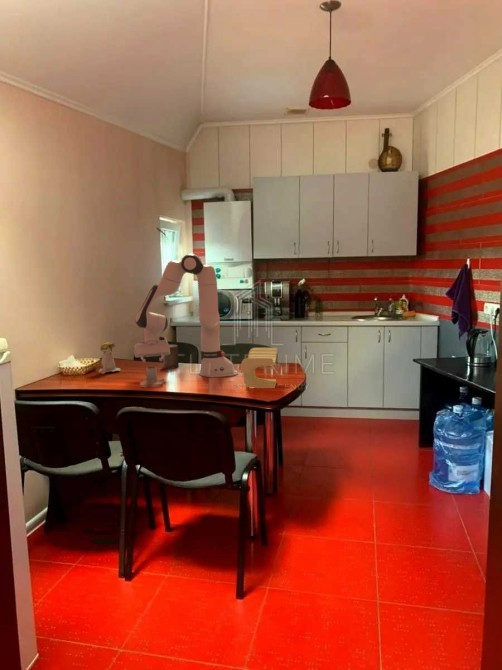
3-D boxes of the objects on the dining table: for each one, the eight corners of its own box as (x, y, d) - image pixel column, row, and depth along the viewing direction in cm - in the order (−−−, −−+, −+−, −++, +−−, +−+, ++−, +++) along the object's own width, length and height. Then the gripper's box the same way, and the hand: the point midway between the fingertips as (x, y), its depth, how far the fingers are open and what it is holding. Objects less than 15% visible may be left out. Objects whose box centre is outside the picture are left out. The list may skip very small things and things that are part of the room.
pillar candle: (181, 366, 324) (180, 343, 322) (170, 369, 317) (168, 345, 315) (172, 365, 330) (170, 342, 328) (160, 367, 323) (158, 344, 321)
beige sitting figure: (122, 372, 312) (121, 342, 309) (101, 374, 306) (99, 344, 303) (118, 368, 322) (116, 340, 319) (97, 371, 316) (95, 342, 313)
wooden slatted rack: (249, 378, 288) (248, 347, 286) (277, 378, 286) (277, 347, 283) (241, 392, 259) (240, 358, 256) (272, 393, 257) (272, 358, 254)
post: (163, 381, 286) (163, 370, 285) (162, 386, 274) (161, 374, 273) (142, 382, 285) (141, 370, 284) (139, 387, 273) (139, 375, 272)
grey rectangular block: (157, 380, 282) (156, 366, 281) (156, 382, 277) (155, 368, 276) (147, 380, 282) (146, 366, 280) (146, 383, 277) (146, 368, 275)
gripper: (133, 340, 293) (133, 360, 285) (169, 337, 296) (170, 357, 288) (134, 346, 298) (134, 366, 290) (169, 343, 301) (170, 363, 293)
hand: (152, 361), depth 289 cm, fingers open, 8 cm apart
